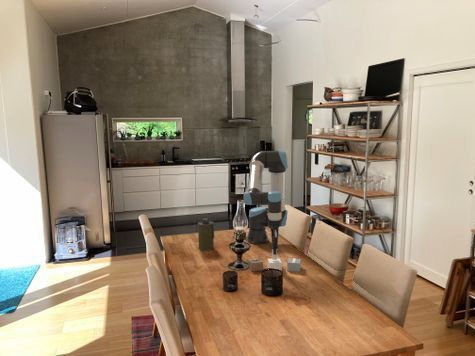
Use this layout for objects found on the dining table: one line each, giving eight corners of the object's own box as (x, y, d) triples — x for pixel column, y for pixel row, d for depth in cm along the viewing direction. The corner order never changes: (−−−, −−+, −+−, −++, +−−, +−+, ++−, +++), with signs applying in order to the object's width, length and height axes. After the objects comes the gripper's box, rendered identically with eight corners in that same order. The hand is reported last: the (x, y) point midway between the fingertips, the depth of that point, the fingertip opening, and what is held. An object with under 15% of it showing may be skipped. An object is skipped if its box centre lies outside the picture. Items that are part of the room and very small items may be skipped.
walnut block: (247, 267, 222) (247, 258, 221) (259, 265, 224) (259, 257, 223) (251, 271, 215) (251, 262, 214) (262, 270, 217) (262, 261, 216)
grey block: (288, 266, 222) (288, 257, 221) (300, 267, 220) (300, 258, 220) (287, 271, 215) (287, 262, 214) (299, 272, 214) (299, 263, 213)
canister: (195, 249, 253) (195, 220, 250) (201, 244, 263) (201, 216, 260) (211, 251, 250) (210, 221, 247) (216, 246, 259) (216, 217, 257)
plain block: (267, 266, 222) (267, 258, 221) (279, 266, 222) (279, 258, 222) (269, 271, 215) (269, 263, 214) (281, 271, 215) (281, 262, 215)
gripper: (266, 216, 221) (266, 255, 224) (269, 222, 208) (269, 263, 211) (279, 216, 221) (279, 255, 224) (282, 221, 208) (282, 263, 211)
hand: (274, 259), depth 218 cm, fingers closed
